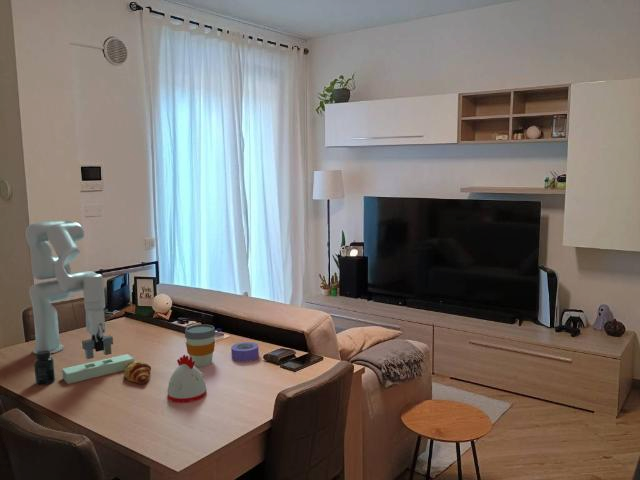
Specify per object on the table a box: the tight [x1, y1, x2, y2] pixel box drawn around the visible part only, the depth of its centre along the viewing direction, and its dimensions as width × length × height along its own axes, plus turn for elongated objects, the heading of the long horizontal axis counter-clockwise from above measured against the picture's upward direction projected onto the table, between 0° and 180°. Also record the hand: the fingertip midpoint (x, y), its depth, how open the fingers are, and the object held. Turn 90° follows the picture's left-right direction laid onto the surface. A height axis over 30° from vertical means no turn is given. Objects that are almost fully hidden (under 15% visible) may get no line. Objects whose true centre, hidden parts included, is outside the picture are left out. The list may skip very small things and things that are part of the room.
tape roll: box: [230, 341, 260, 363], centre depth 239 cm, size 12×12×5 cm
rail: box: [61, 353, 135, 385], centre depth 222 cm, size 7×26×4 cm, turn 129°
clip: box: [81, 335, 114, 360], centre depth 221 cm, size 3×11×7 cm, turn 129°
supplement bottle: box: [33, 350, 56, 386], centre depth 213 cm, size 7×7×12 cm
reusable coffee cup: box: [184, 324, 216, 368], centre depth 232 cm, size 13×13×15 cm
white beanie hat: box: [167, 354, 208, 404], centre depth 200 cm, size 14×14×15 cm
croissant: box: [123, 361, 152, 385], centre depth 217 cm, size 21×10×8 cm, turn 33°
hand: (98, 349), depth 221 cm, fingers closed on clip, 3 cm apart
